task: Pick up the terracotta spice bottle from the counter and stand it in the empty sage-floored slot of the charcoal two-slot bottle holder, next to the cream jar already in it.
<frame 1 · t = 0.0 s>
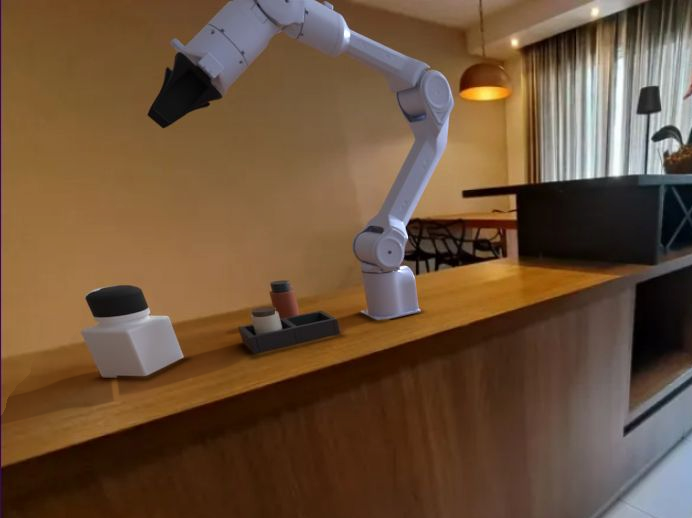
hand: (158, 119, 57), 32 cm above the countertop, tool tilted 50°, fingers open, 7 cm apart
spice bottle: (289, 321, 84), on the countertop
holder: (293, 340, 74), on the countertop
medicine bottle: (145, 370, 65), on the countertop
cream jar: (272, 342, 72), point 1 cm above the countertop, touching holder
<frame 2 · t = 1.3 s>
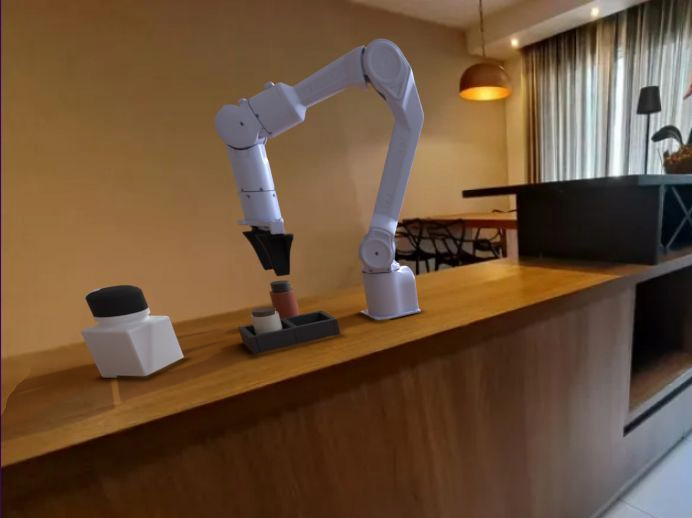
hand: (276, 272, 80), 9 cm above the countertop, tool pointing down, fingers open, 7 cm apart
nothing on the countertop moved.
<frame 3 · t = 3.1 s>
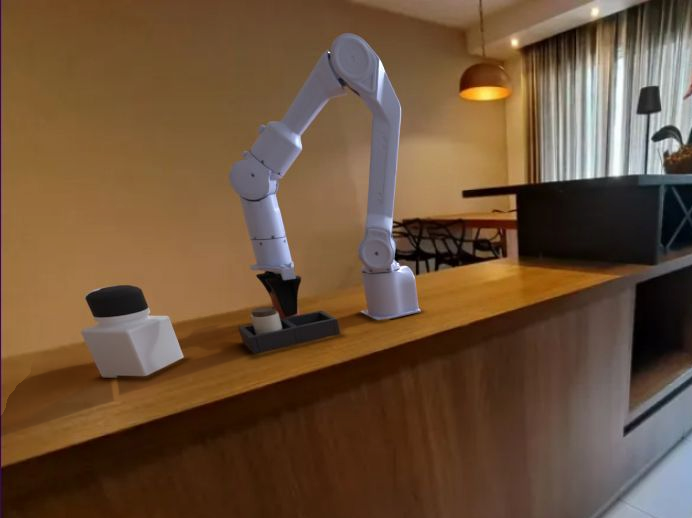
hand: (287, 312, 83), 2 cm above the countertop, tool pointing down, fingers closed on spice bottle, 4 cm apart
spice bottle: (289, 321, 84), on the countertop, touching gripper
everything else where it was.
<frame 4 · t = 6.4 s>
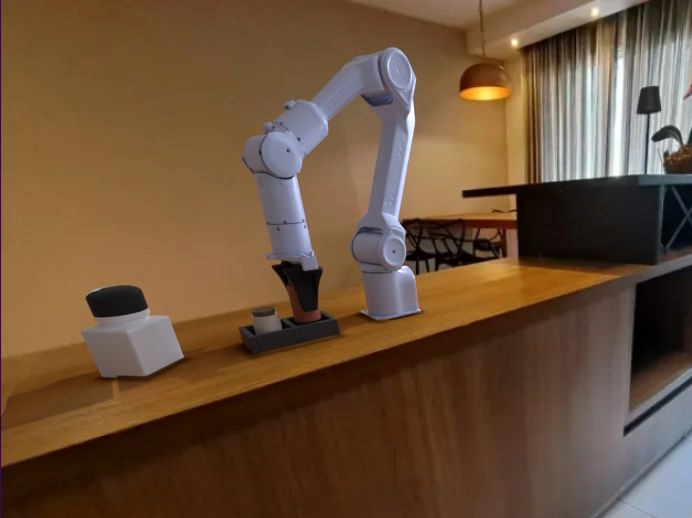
hand: (305, 307, 74), 5 cm above the countertop, tool pointing down, fingers closed on spice bottle, 4 cm apart
spice bottle: (308, 318, 75), point 3 cm above the countertop, touching gripper
everything else where it was.
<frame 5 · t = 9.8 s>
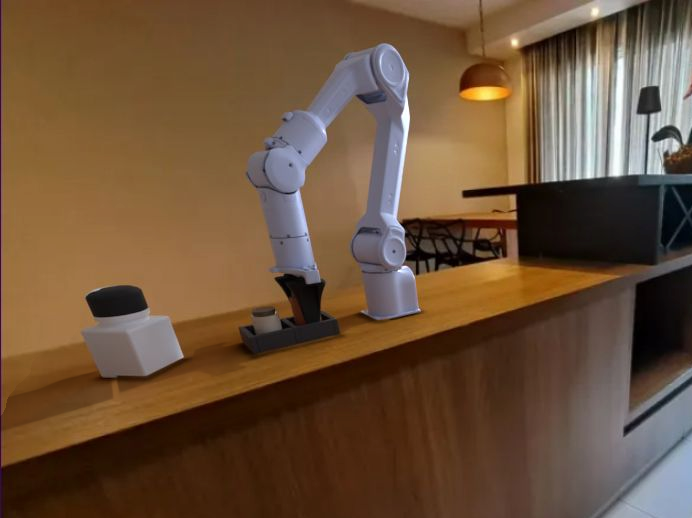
hand: (308, 319, 75), 3 cm above the countertop, tool pointing down, fingers closed on spice bottle, 4 cm apart
spice bottle: (310, 329, 76), point 1 cm above the countertop, touching gripper
everything else where it was.
when the fingers open (4 cm above the countertop, at t = 11.4 s): spice bottle drops 1 cm, resting on holder.
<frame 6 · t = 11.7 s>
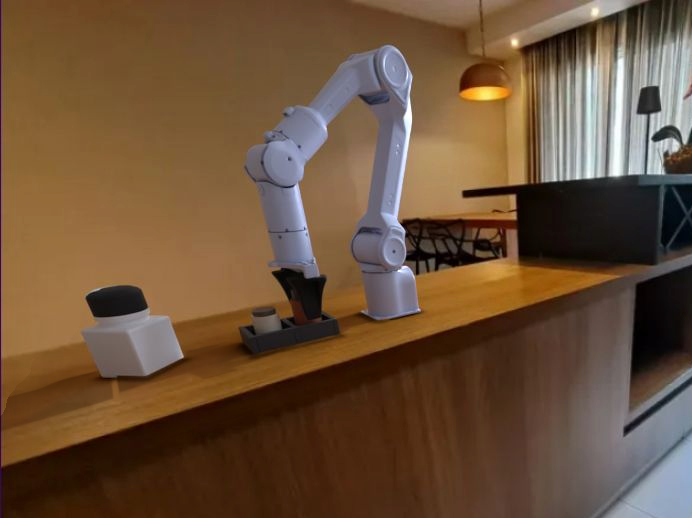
hand: (307, 314, 75), 4 cm above the countertop, tool pointing down, fingers open, 6 cm apart
spice bottle: (311, 332, 76), point 1 cm above the countertop, touching holder
everything else where it was.
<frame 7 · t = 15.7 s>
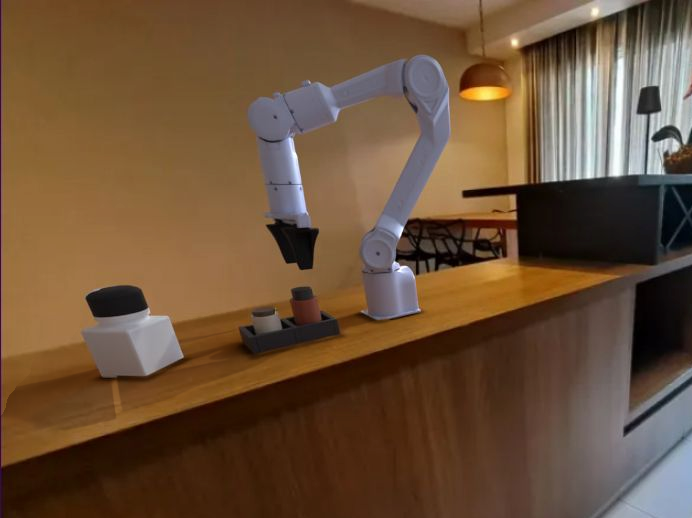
hand: (299, 266, 80), 10 cm above the countertop, tool pointing down, fingers open, 7 cm apart
nothing on the countertop moved.
at the end: spice bottle 0.1 cm from the target spot in the holder, point 0.8 cm above the holder's base; spice bottle tilted 0°; the gripper is holding nothing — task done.
